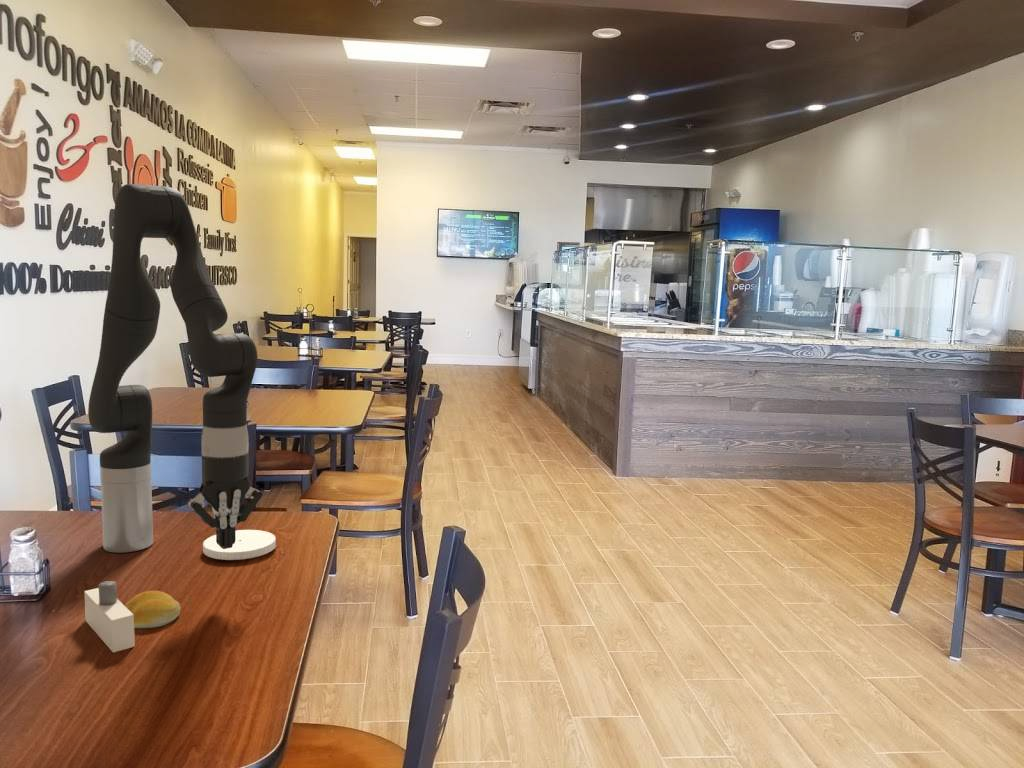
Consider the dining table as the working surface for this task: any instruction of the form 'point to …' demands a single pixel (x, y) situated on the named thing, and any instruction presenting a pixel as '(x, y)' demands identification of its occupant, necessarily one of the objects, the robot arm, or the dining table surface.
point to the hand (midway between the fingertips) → (225, 547)
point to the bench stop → (109, 617)
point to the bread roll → (153, 609)
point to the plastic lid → (241, 545)
